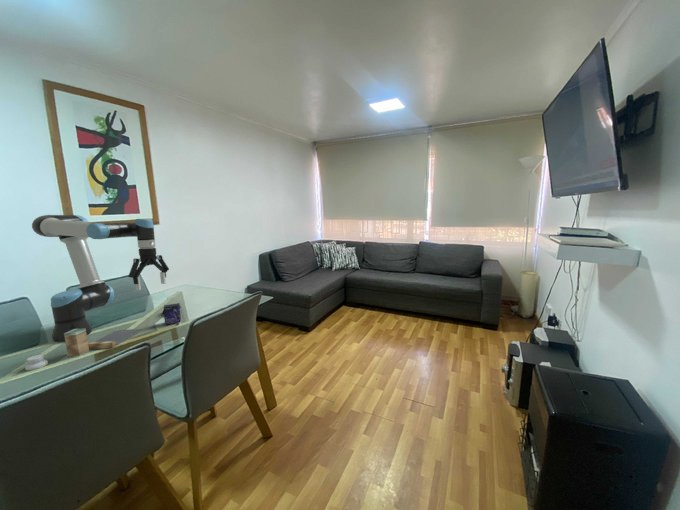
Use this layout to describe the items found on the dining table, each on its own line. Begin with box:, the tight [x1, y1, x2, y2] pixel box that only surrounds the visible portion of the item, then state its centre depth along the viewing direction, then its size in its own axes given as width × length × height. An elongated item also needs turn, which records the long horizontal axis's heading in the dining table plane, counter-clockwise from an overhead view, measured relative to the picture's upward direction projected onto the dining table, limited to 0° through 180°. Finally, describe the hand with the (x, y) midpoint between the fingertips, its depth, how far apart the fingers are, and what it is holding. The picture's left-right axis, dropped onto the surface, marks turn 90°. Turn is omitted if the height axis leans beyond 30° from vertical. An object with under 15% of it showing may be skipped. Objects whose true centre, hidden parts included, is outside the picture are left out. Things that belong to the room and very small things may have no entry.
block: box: [64, 328, 90, 357], centre depth 122 cm, size 5×5×11 cm
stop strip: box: [88, 341, 117, 350], centre depth 128 cm, size 14×2×2 cm, turn 93°
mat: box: [94, 328, 143, 346], centre depth 139 cm, size 14×18×1 cm
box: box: [163, 302, 182, 326], centre depth 157 cm, size 8×6×11 cm
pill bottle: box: [24, 354, 49, 372], centre depth 113 cm, size 6×6×12 cm
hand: (151, 286), depth 145 cm, fingers open, 13 cm apart
